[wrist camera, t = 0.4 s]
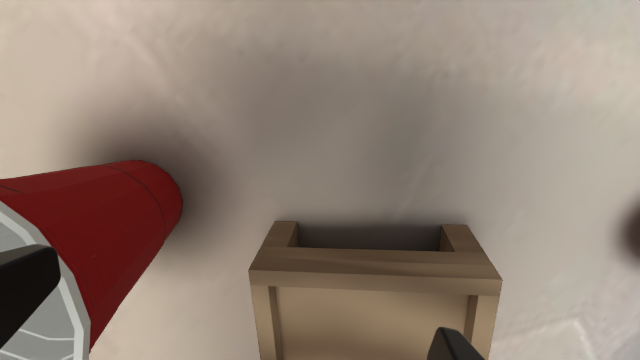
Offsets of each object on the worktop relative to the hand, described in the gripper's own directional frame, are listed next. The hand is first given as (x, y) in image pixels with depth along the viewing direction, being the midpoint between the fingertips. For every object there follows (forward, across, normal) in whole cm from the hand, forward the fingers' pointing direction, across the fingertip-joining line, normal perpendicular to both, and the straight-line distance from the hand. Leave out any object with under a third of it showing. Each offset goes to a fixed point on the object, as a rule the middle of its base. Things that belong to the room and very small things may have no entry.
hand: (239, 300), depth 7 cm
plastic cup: (+14, +12, +6) cm, 20 cm away
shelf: (+14, -6, +12) cm, 19 cm away
